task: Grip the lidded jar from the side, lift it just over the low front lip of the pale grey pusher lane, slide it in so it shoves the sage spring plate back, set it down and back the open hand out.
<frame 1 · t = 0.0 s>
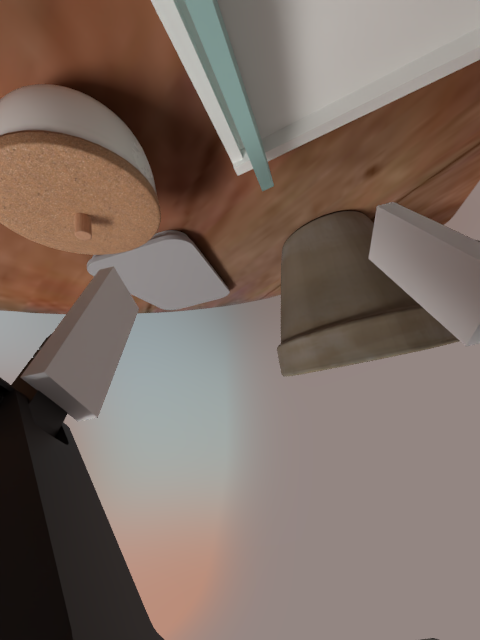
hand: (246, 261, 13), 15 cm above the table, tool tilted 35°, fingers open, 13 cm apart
lidded jar: (79, 131, 19), on the table
tablet: (172, 272, 45), on the table
plant pot: (323, 237, 43), on the table
pusher plate: (231, 80, 15), point 4 cm above the table, slide at 0.0 cm
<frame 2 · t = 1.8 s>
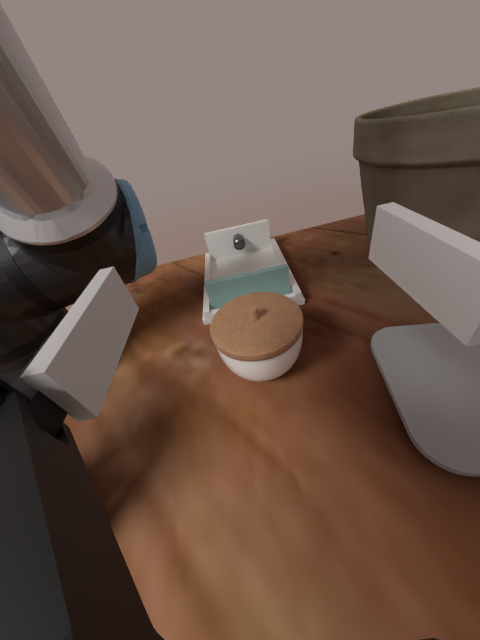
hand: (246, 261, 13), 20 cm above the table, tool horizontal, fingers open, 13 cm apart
lidded jar: (263, 362, 33), on the table
pusher lane: (246, 280, 49), on the table
plant pot: (415, 254, 44), on the table
pusher plate: (248, 287, 40), point 4 cm above the table, slide at 0.0 cm
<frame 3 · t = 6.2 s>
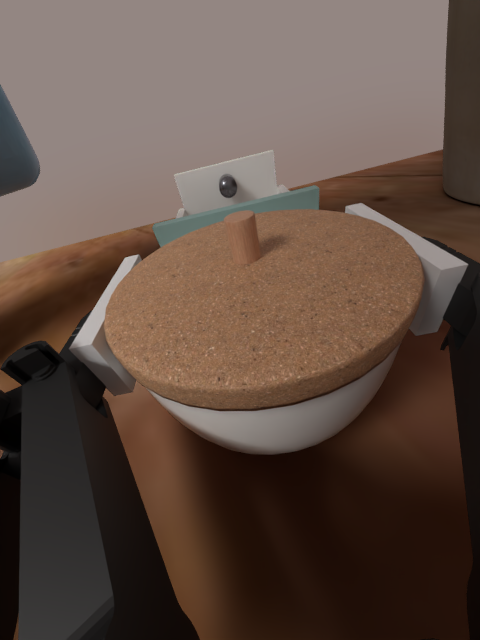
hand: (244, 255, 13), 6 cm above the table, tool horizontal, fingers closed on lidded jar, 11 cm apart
lidded jar: (271, 385, 14), on the table, touching gripper
pusher lane: (239, 240, 30), on the table
pusher plate: (239, 236, 21), point 4 cm above the table, slide at 0.0 cm
when the fingers open (8 cm above the table, at t = 12.8 s): lidded jar stays where it is, resting on pusher lane, pusher plate.
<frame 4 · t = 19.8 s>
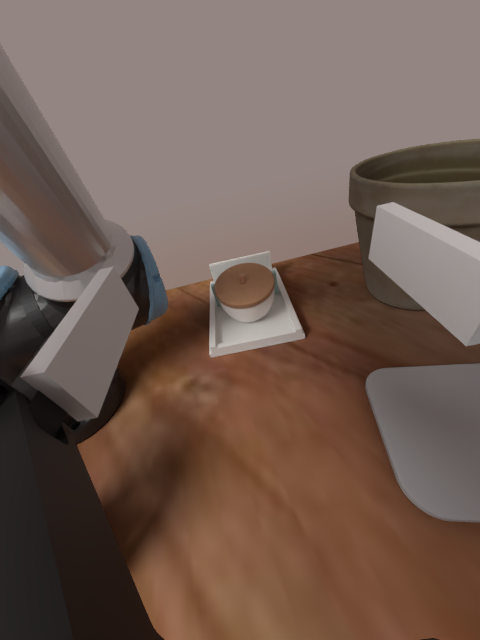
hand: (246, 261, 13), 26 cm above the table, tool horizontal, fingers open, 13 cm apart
lidded jar: (250, 311, 49), point 2 cm above the table, touching pusher lane, pusher plate
pusher lane: (249, 310, 51), on the table
plant pot: (409, 287, 47), on the table
pusher plate: (245, 288, 51), point 4 cm above the table, slide at 11.2 cm, touching lidded jar
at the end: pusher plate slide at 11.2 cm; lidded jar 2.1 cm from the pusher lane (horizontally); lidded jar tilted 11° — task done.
